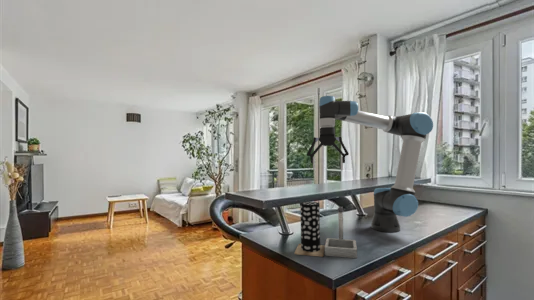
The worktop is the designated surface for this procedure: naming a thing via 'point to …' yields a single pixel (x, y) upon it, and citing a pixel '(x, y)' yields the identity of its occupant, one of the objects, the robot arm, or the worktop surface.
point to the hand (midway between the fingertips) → (327, 169)
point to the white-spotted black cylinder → (310, 226)
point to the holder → (340, 242)
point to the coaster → (317, 253)
